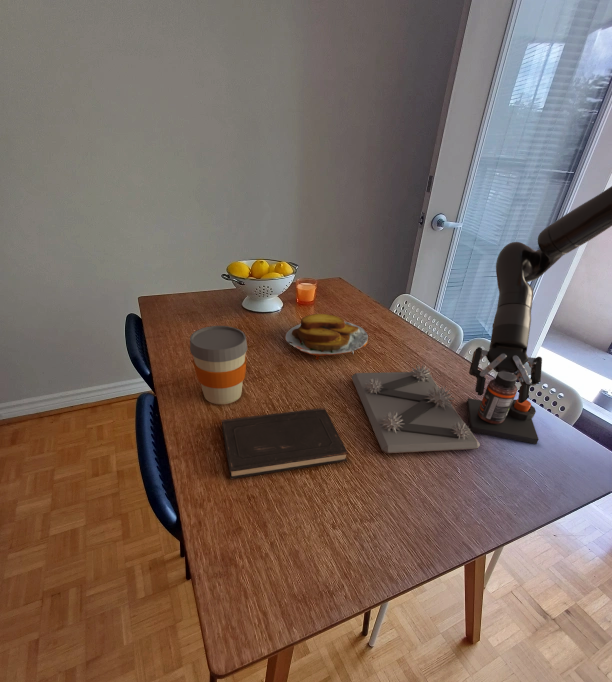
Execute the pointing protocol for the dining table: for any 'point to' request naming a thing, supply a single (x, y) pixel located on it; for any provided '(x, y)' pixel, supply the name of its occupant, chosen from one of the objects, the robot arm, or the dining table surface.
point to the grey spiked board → (412, 412)
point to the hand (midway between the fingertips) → (500, 398)
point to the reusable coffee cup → (219, 362)
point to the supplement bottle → (498, 398)
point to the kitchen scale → (504, 423)
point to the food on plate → (326, 335)
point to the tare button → (522, 406)
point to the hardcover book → (281, 442)
